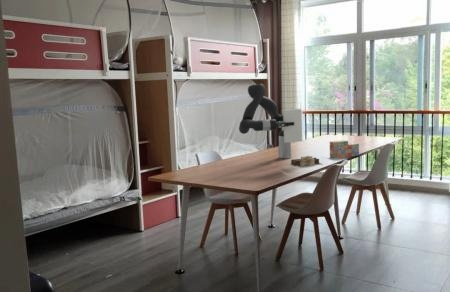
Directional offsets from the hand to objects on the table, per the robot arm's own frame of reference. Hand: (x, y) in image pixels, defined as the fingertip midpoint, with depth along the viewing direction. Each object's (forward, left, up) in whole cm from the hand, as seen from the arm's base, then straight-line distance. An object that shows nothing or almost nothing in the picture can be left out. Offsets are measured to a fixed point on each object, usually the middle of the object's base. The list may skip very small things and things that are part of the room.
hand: (293, 123), depth 297 cm
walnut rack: (+8, +2, -30) cm, 31 cm away
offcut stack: (+9, -1, -28) cm, 30 cm away
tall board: (0, 0, -12) cm, 13 cm away
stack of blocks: (+25, +47, -30) cm, 61 cm away
